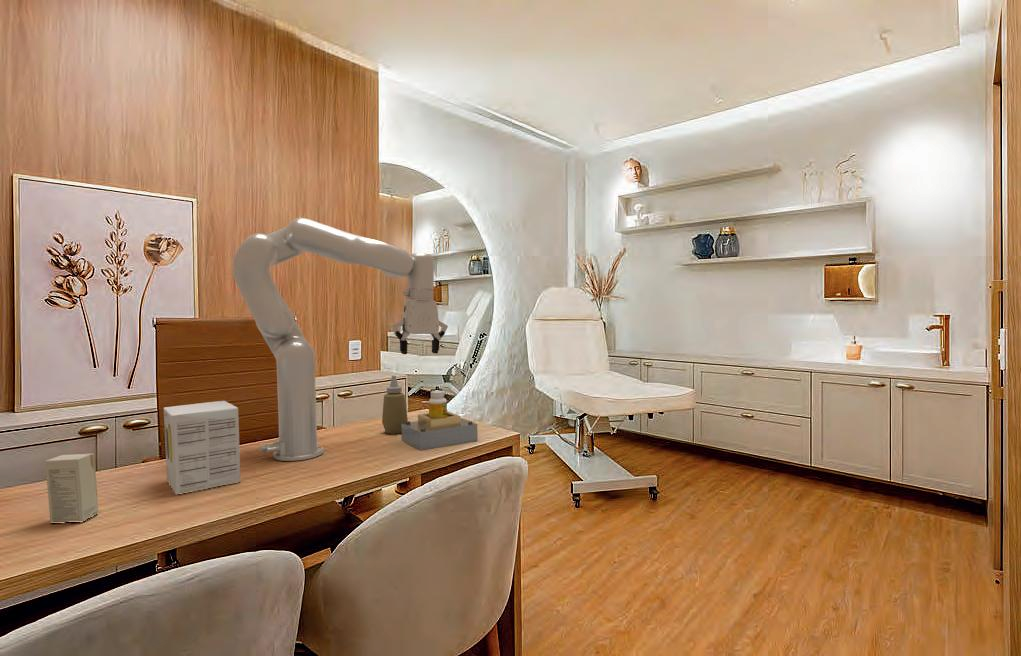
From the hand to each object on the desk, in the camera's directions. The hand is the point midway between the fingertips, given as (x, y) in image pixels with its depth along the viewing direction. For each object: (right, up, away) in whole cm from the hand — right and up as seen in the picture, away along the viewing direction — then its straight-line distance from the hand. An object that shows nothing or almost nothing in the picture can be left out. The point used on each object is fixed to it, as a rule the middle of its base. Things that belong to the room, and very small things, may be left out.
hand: (419, 353), depth 159 cm
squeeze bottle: (-10, -26, +12) cm, 30 cm away
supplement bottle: (+5, -21, 0) cm, 22 cm away
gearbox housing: (+6, -26, 0) cm, 26 cm away
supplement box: (-44, -28, -35) cm, 63 cm away
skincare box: (-56, -29, -56) cm, 85 cm away
